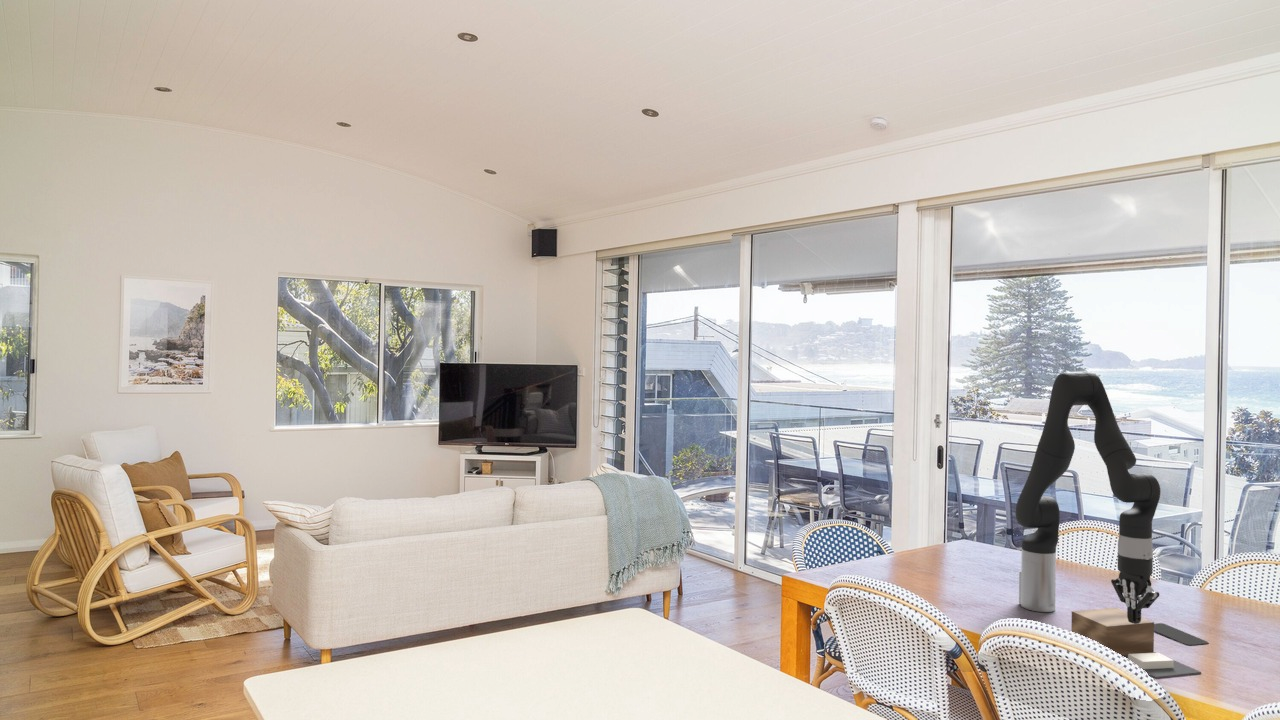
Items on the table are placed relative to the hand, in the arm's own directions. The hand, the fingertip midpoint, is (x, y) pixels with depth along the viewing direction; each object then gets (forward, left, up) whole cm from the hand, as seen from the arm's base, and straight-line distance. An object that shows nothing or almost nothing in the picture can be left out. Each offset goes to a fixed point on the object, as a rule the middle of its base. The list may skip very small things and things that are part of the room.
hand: (1134, 622), depth 204 cm
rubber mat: (+5, +1, -9) cm, 10 cm away
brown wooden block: (-7, 0, -9) cm, 11 cm away
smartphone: (-11, +24, -9) cm, 28 cm away
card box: (+6, -1, -6) cm, 9 cm away
